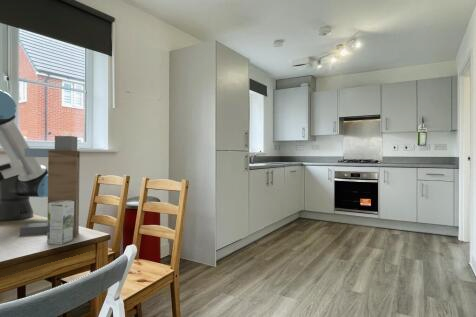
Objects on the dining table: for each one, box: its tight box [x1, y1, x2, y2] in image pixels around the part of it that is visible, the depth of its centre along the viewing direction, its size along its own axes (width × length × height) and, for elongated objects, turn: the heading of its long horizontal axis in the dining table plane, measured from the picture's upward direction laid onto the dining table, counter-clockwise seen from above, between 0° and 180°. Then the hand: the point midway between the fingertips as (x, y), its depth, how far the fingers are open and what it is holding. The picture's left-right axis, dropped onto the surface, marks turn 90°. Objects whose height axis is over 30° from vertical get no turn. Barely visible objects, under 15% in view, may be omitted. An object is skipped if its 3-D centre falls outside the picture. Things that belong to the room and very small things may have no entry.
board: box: [19, 222, 48, 237], centre depth 115 cm, size 7×14×3 cm, turn 112°
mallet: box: [25, 135, 78, 158], centre depth 109 cm, size 17×4×8 cm, turn 95°
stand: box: [46, 150, 81, 239], centre depth 109 cm, size 8×9×32 cm
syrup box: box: [46, 200, 74, 245], centre depth 101 cm, size 6×6×14 cm
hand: (22, 166), depth 108 cm, fingers open, 13 cm apart
